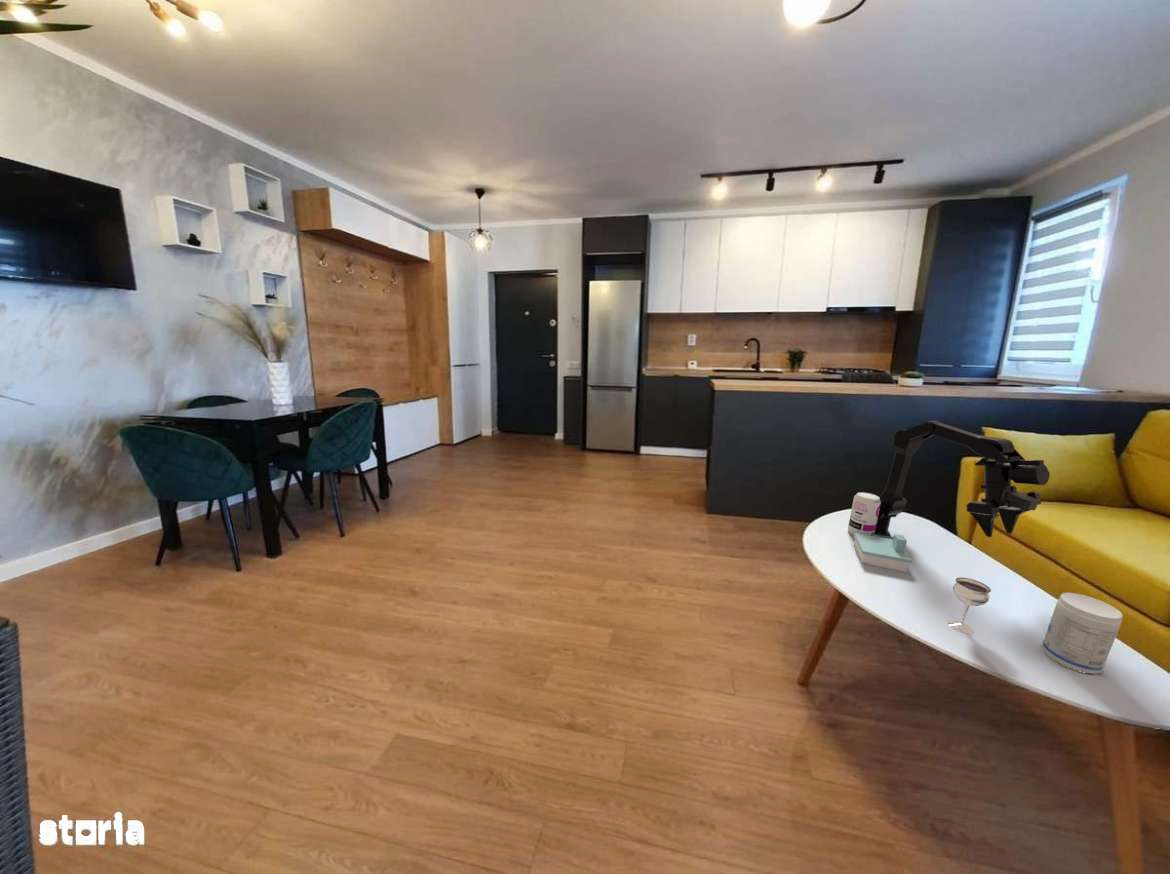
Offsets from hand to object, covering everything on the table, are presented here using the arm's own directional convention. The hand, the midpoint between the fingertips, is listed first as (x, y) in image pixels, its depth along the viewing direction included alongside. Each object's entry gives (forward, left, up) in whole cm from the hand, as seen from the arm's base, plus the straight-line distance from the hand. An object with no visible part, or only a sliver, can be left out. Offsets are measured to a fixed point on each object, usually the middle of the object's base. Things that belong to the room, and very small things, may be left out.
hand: (999, 535), depth 127 cm
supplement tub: (+34, +3, -16) cm, 37 cm away
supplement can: (-21, -29, -16) cm, 39 cm away
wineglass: (+30, -16, -16) cm, 37 cm away
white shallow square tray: (-3, -27, -15) cm, 31 cm away
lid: (-2, -27, -12) cm, 30 cm away
